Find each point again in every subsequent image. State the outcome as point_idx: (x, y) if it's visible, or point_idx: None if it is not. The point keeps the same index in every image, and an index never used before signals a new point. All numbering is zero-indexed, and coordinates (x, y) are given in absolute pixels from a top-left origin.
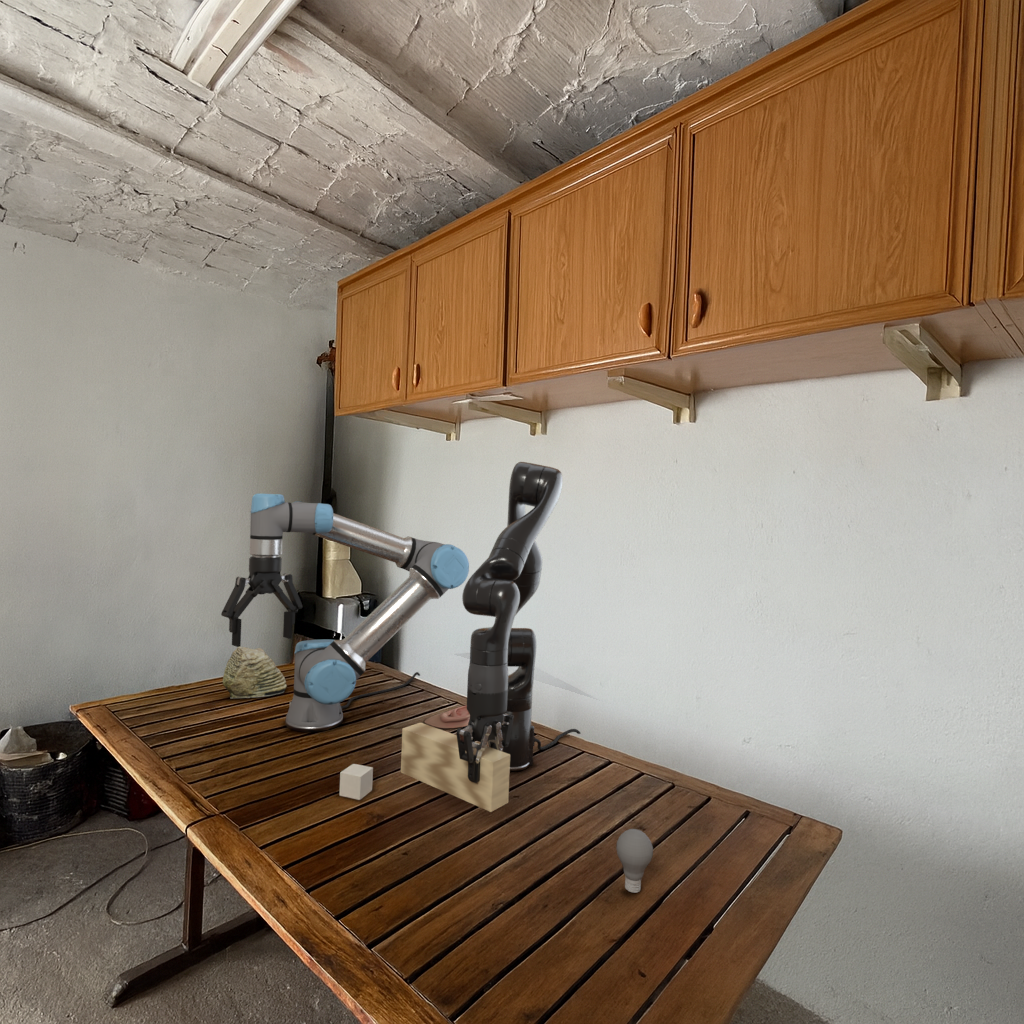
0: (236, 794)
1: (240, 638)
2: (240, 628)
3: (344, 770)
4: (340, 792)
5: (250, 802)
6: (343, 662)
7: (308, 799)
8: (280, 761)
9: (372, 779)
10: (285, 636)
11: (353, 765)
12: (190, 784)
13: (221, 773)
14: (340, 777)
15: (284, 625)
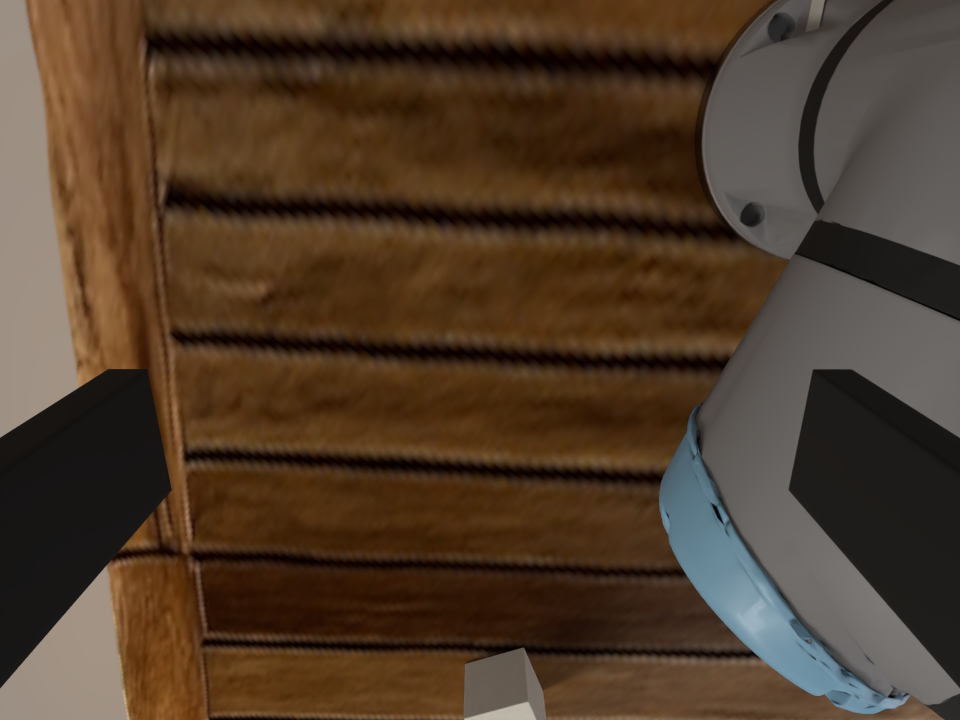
0: (263, 494)
1: (116, 548)
2: (16, 654)
3: (480, 717)
4: (466, 672)
5: (274, 555)
6: (883, 707)
7: (396, 631)
8: (475, 387)
9: (545, 716)
10: (809, 427)
11: (519, 711)
12: (174, 347)
13: (282, 338)
14: (464, 707)
15: (911, 467)
